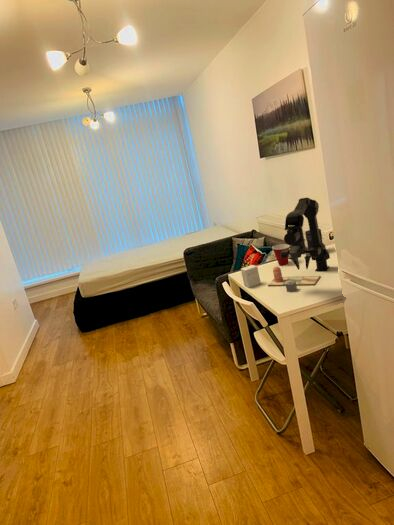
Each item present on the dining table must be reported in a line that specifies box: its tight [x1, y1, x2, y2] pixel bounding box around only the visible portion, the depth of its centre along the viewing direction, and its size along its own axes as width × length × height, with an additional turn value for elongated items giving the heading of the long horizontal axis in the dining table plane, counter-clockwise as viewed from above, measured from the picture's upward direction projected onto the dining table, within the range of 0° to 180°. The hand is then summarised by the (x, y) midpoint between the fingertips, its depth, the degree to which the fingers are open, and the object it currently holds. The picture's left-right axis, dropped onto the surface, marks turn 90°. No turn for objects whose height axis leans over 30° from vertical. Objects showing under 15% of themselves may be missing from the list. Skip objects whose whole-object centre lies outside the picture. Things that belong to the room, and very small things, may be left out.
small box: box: [240, 264, 262, 289], centre depth 217 cm, size 8×6×10 cm
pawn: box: [272, 266, 283, 282], centre depth 212 cm, size 5×5×8 cm
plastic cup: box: [271, 243, 291, 266], centre depth 240 cm, size 11×11×12 cm
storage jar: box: [304, 228, 323, 250], centre depth 246 cm, size 10×10×15 cm
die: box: [285, 282, 298, 293], centre depth 197 cm, size 4×4×4 cm
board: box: [267, 275, 321, 287], centre depth 208 cm, size 12×26×1 cm, turn 58°
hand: (303, 269), depth 190 cm, fingers open, 4 cm apart
